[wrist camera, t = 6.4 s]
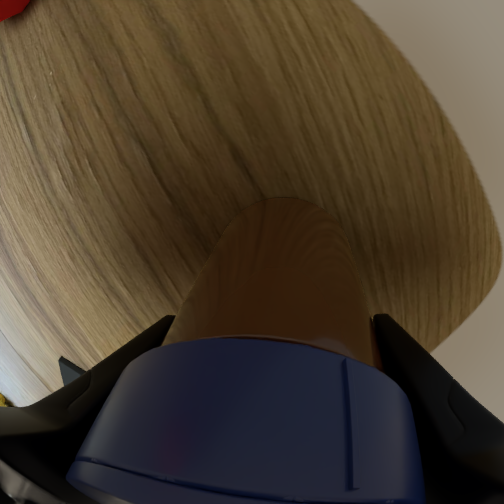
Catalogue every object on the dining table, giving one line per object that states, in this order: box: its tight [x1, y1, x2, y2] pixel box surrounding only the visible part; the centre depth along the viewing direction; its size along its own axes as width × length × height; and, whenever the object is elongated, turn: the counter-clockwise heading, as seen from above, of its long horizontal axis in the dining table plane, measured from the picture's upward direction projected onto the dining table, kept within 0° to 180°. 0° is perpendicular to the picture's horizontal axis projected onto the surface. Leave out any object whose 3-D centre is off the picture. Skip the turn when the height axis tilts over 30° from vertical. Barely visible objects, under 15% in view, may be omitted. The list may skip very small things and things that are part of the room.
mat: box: [58, 357, 85, 386], centre depth 23 cm, size 10×10×1 cm
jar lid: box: [66, 337, 426, 504], centre depth 5 cm, size 7×7×3 cm
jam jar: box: [159, 198, 384, 373], centre depth 9 cm, size 6×6×10 cm
